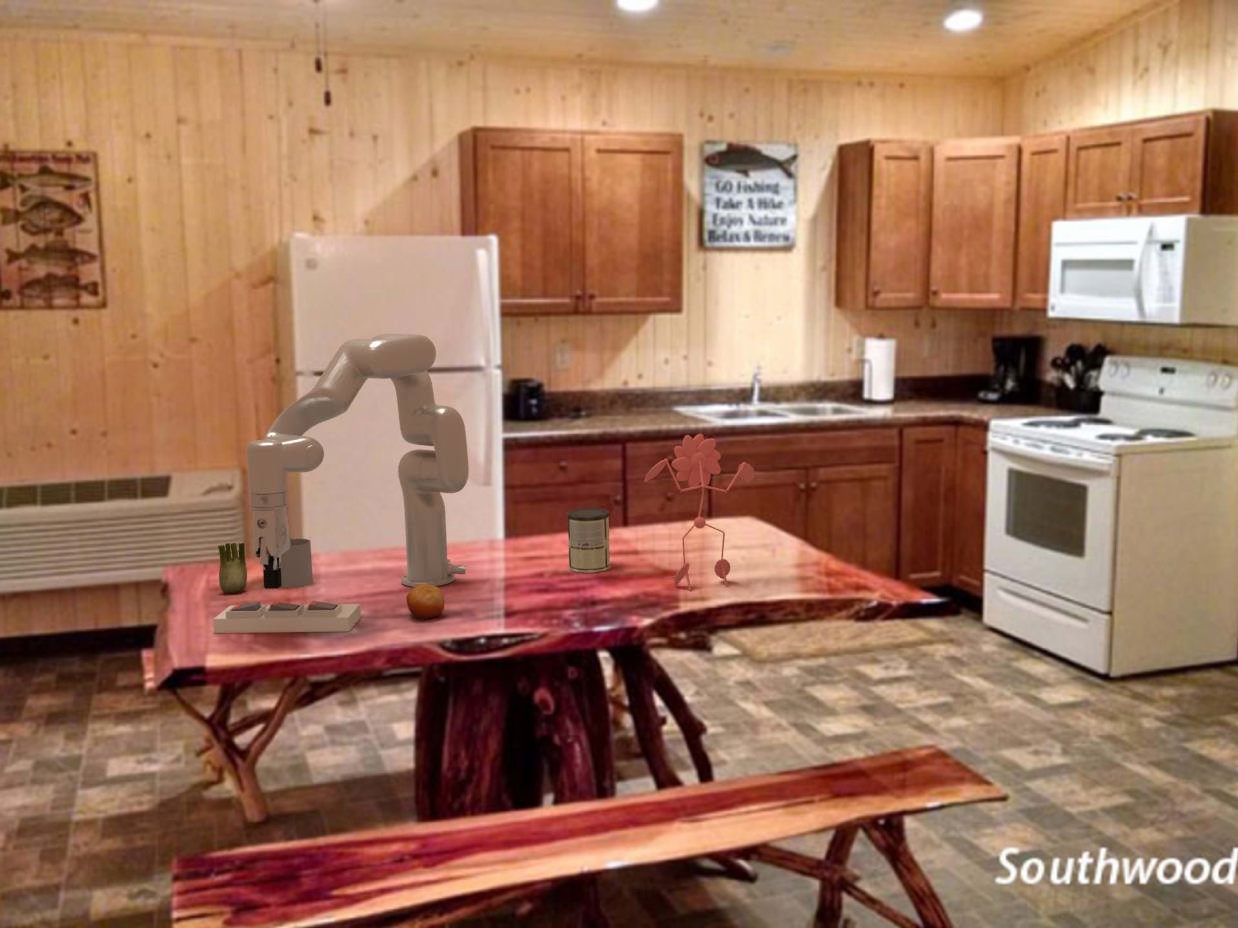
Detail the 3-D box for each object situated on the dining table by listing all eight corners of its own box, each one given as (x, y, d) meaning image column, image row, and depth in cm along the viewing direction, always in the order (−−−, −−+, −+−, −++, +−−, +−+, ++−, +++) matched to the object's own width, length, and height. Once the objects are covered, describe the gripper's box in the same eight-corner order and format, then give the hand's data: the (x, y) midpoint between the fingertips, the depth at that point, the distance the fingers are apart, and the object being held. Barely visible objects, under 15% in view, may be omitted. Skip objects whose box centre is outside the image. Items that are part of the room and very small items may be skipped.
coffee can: (562, 566, 297) (560, 510, 295) (599, 561, 301) (598, 506, 299) (578, 575, 288) (577, 517, 285) (617, 569, 292) (616, 513, 290)
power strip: (360, 617, 255) (359, 597, 255) (349, 631, 245) (347, 610, 245) (231, 619, 256) (229, 599, 255) (214, 632, 246) (212, 612, 245)
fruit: (428, 601, 262) (436, 574, 257) (444, 625, 257) (453, 598, 253) (395, 608, 257) (403, 580, 252) (411, 633, 252) (419, 606, 248)
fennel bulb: (249, 589, 280) (245, 539, 279) (243, 595, 276) (240, 544, 274) (224, 590, 280) (220, 540, 278) (218, 595, 275) (214, 545, 274)
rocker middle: (298, 610, 249) (298, 604, 249) (293, 614, 246) (294, 608, 246) (274, 606, 249) (275, 600, 249) (269, 610, 246) (270, 604, 246)
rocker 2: (336, 609, 249) (336, 603, 249) (332, 614, 246) (332, 608, 246) (312, 606, 249) (313, 600, 249) (308, 610, 246) (308, 604, 246)
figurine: (762, 583, 276) (759, 433, 271) (658, 595, 268) (653, 441, 263) (734, 570, 290) (731, 427, 285) (634, 581, 282) (630, 434, 277)
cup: (303, 588, 281) (300, 546, 279) (270, 587, 282) (268, 545, 281) (318, 579, 289) (316, 538, 287) (287, 578, 290) (284, 538, 289)
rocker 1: (260, 606, 250) (259, 600, 249) (255, 611, 246) (254, 605, 246) (237, 611, 250) (236, 605, 250) (232, 615, 247) (231, 609, 246)
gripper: (275, 506, 237) (279, 596, 239) (297, 494, 251) (301, 579, 254) (237, 506, 237) (242, 596, 239) (261, 494, 252) (266, 579, 254)
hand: (272, 587), depth 247 cm, fingers closed
